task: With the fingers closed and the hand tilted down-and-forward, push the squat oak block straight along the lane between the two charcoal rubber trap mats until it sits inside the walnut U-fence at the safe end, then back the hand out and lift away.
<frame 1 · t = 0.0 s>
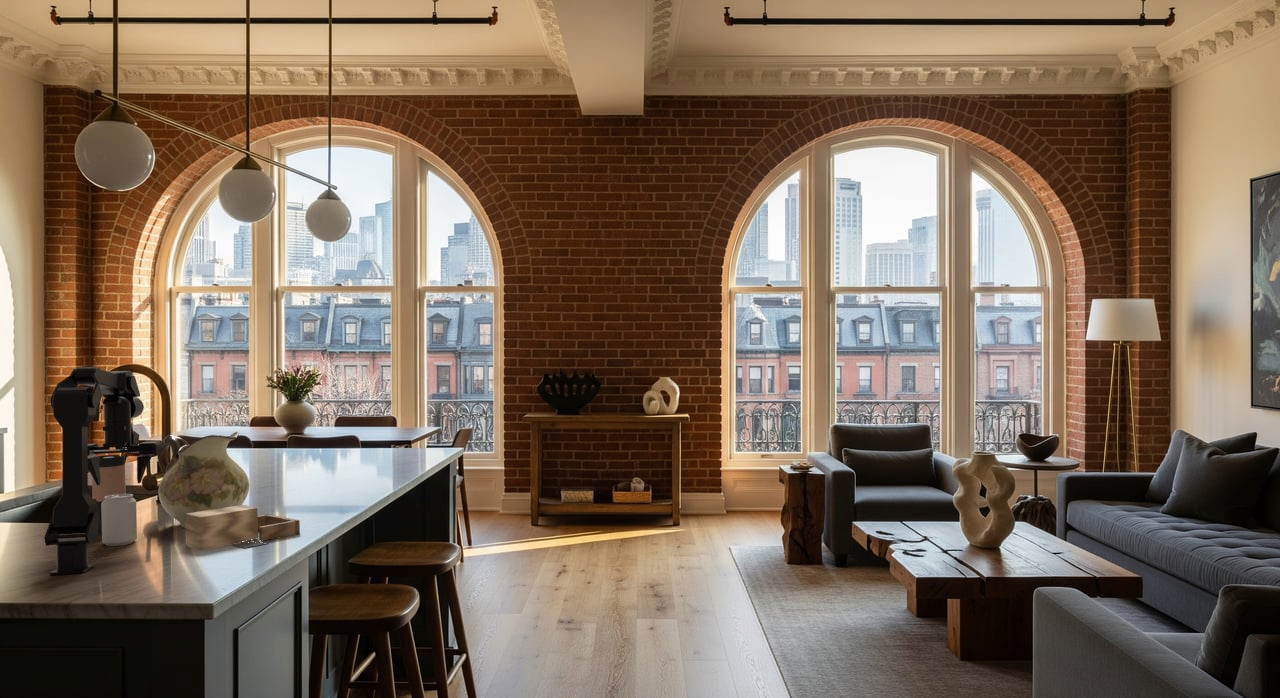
hand: (119, 484, 219), 15 cm above the counter, tool pointing down, fingers open, 9 cm apart
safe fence: (264, 534, 226), on the counter
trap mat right: (250, 544, 214), on the counter
oak block: (222, 543, 217), on the counter
can: (119, 544, 218), on the counter
travel mug: (110, 532, 233), on the counter
trap mat left: (215, 536, 224), on the counter
pitcher: (202, 524, 241), on the counter
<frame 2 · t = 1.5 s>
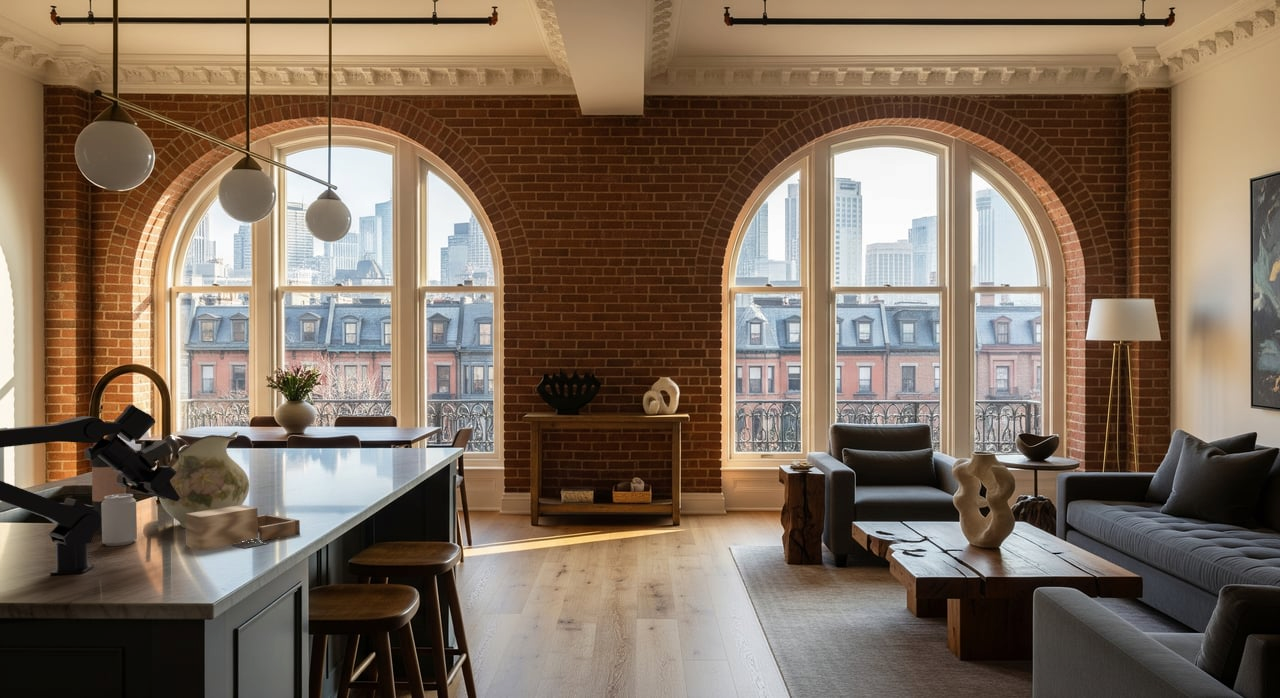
hand: (172, 498, 208), 13 cm above the counter, tool tilted 45°, fingers open, 5 cm apart
nothing on the counter moved.
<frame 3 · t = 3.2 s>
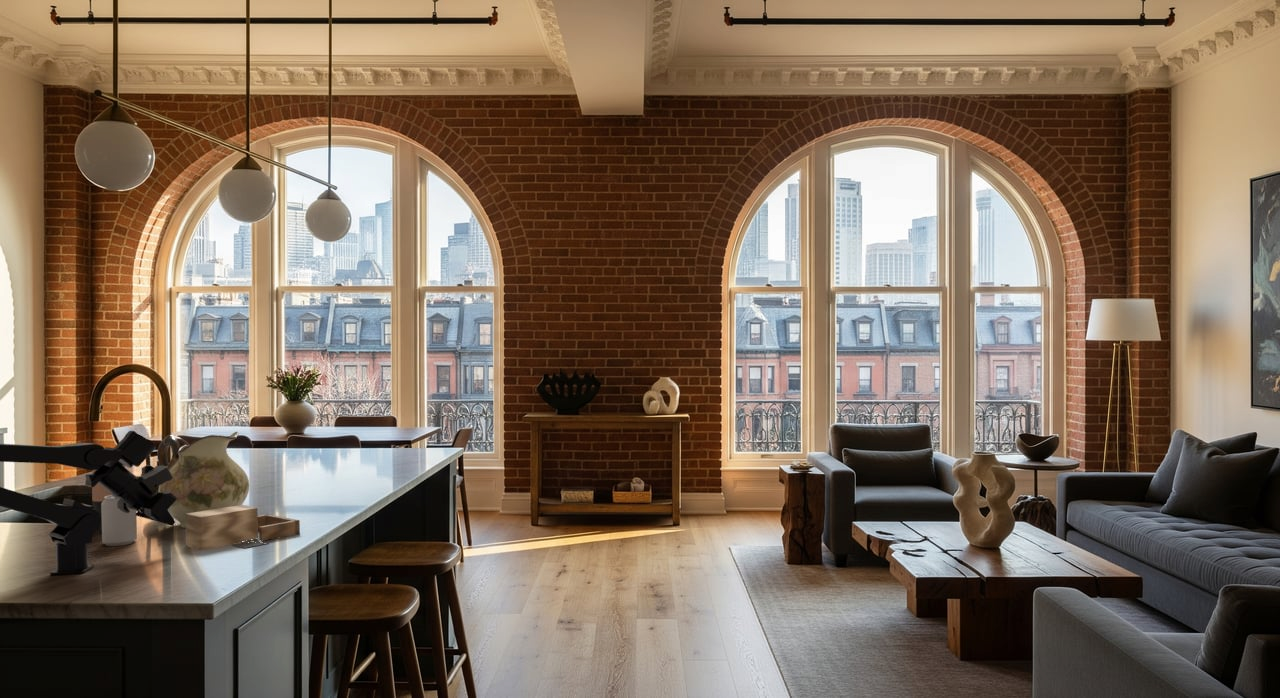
hand: (173, 523, 208), 7 cm above the counter, tool tilted 45°, fingers closed
nothing on the counter moved.
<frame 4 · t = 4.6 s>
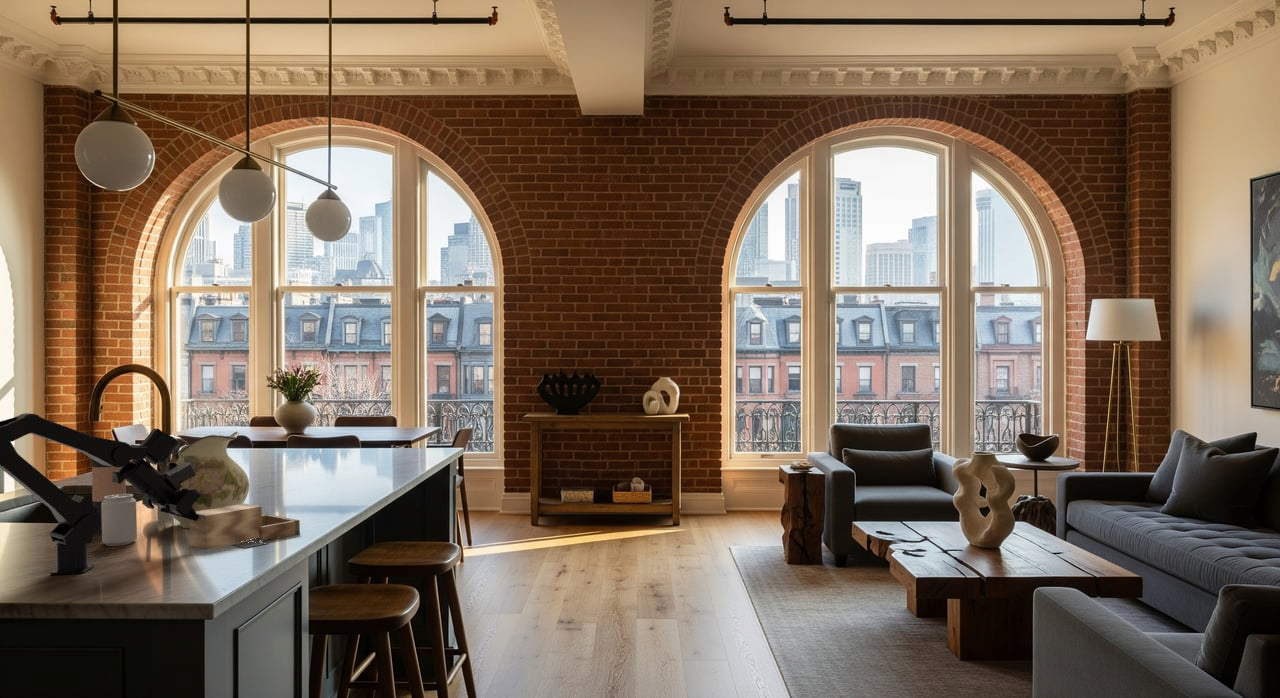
hand: (196, 519, 212), 7 cm above the counter, tool tilted 45°, fingers closed, pressing on oak block
oak block: (226, 541, 218), on the counter, touching gripper
everything else where it was.
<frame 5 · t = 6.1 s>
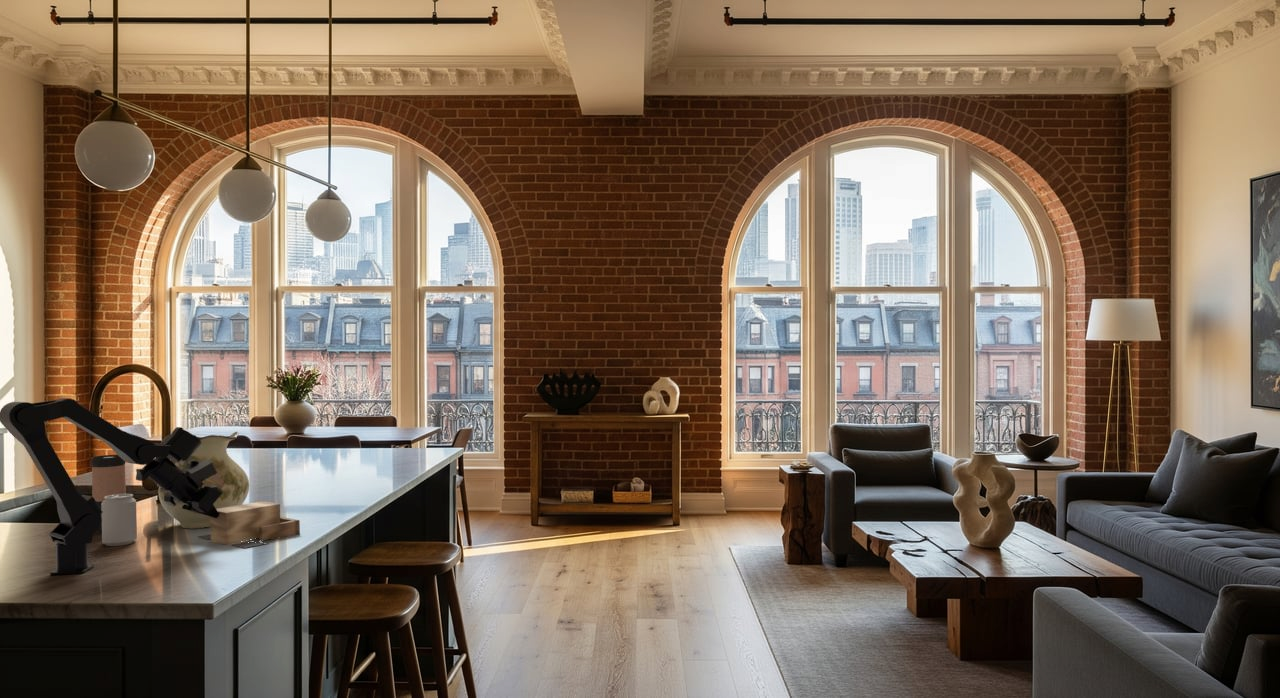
hand: (217, 516, 216), 7 cm above the counter, tool tilted 45°, fingers closed
oak block: (246, 538, 222), on the counter
everything else where it was.
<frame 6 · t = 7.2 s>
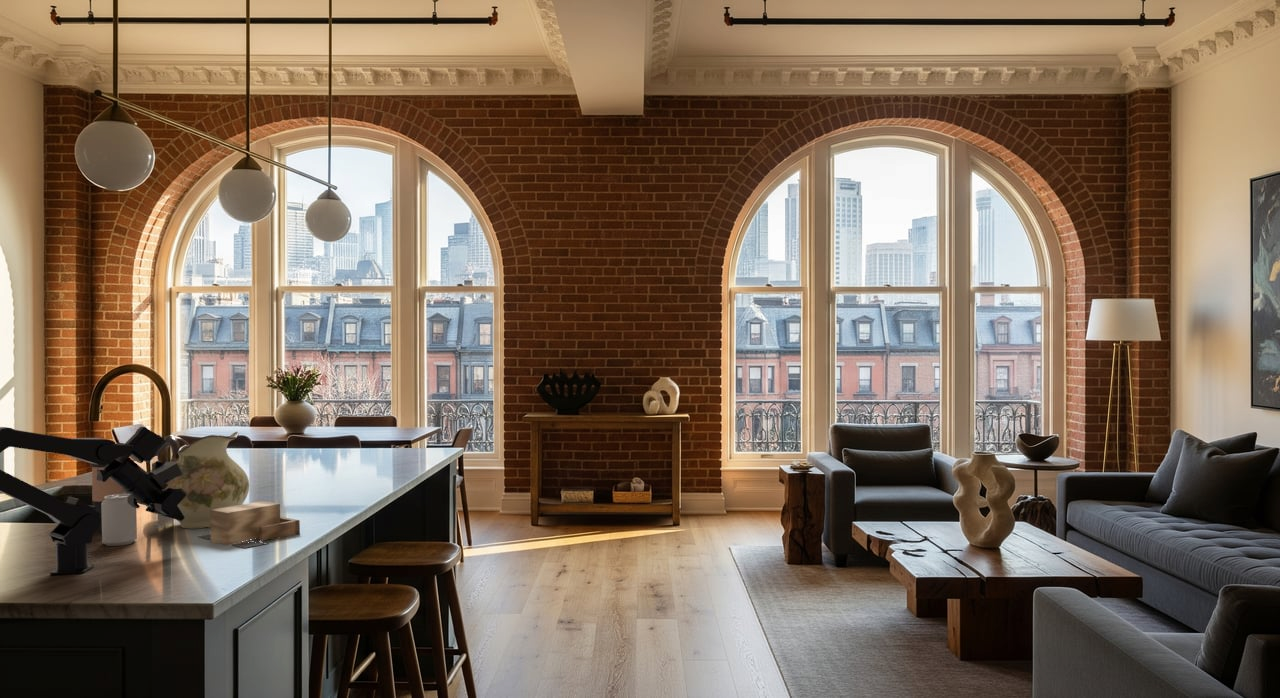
hand: (182, 519, 210), 7 cm above the counter, tool tilted 45°, fingers closed
nothing on the counter moved.
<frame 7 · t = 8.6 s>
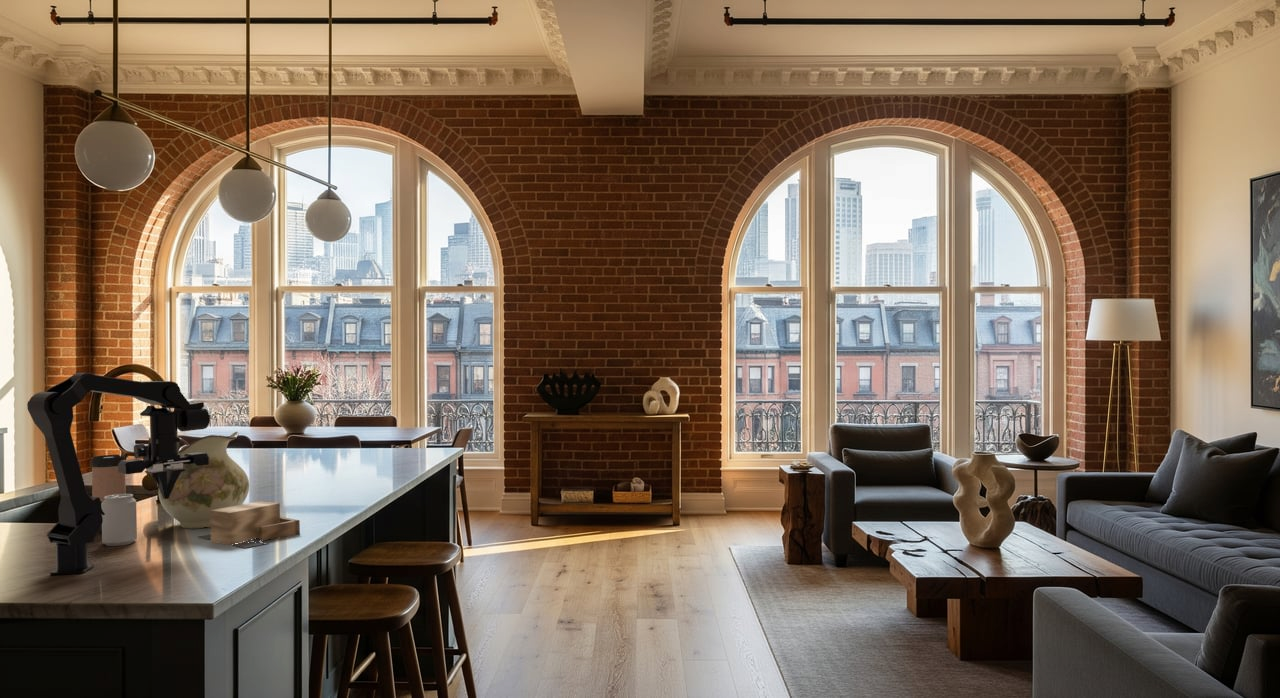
hand: (166, 498, 210), 12 cm above the counter, tool pointing down, fingers closed
nothing on the counter moved.
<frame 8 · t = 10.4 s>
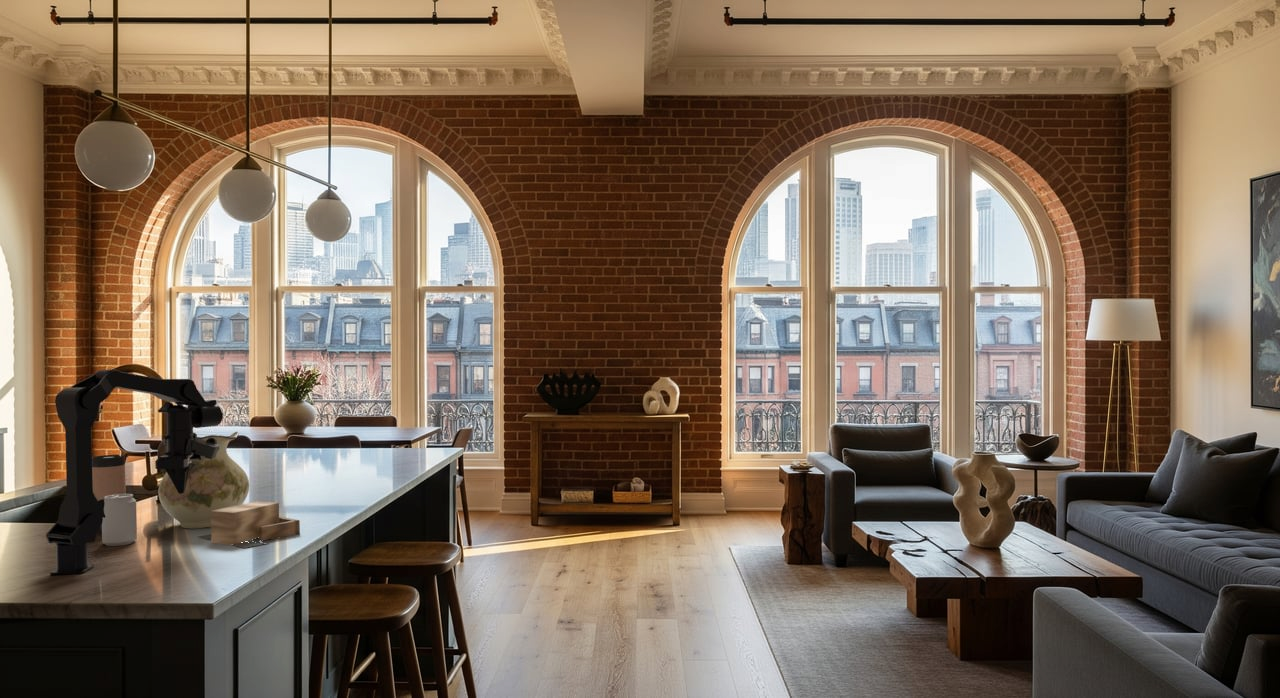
hand: (181, 493, 216), 12 cm above the counter, tool pointing down, fingers closed
at the end: oak block 0.7 cm from the target spot on the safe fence, point 0.0 cm above the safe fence's base; oak block moved 6.2 cm from its start; oak block tilted 0° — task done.
